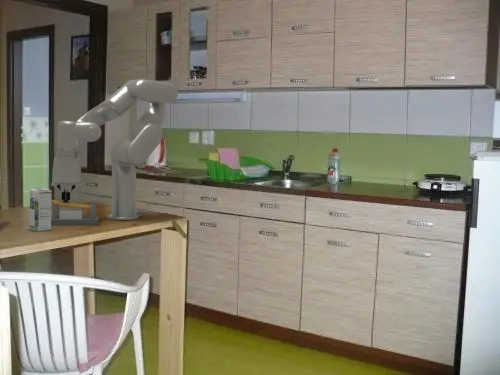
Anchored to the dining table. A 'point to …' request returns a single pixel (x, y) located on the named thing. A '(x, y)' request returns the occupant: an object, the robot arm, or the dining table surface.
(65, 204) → the yellow long flat bar
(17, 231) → the dining table surface
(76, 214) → the base
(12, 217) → the dining table surface
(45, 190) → the syrup box
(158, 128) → the robot arm
